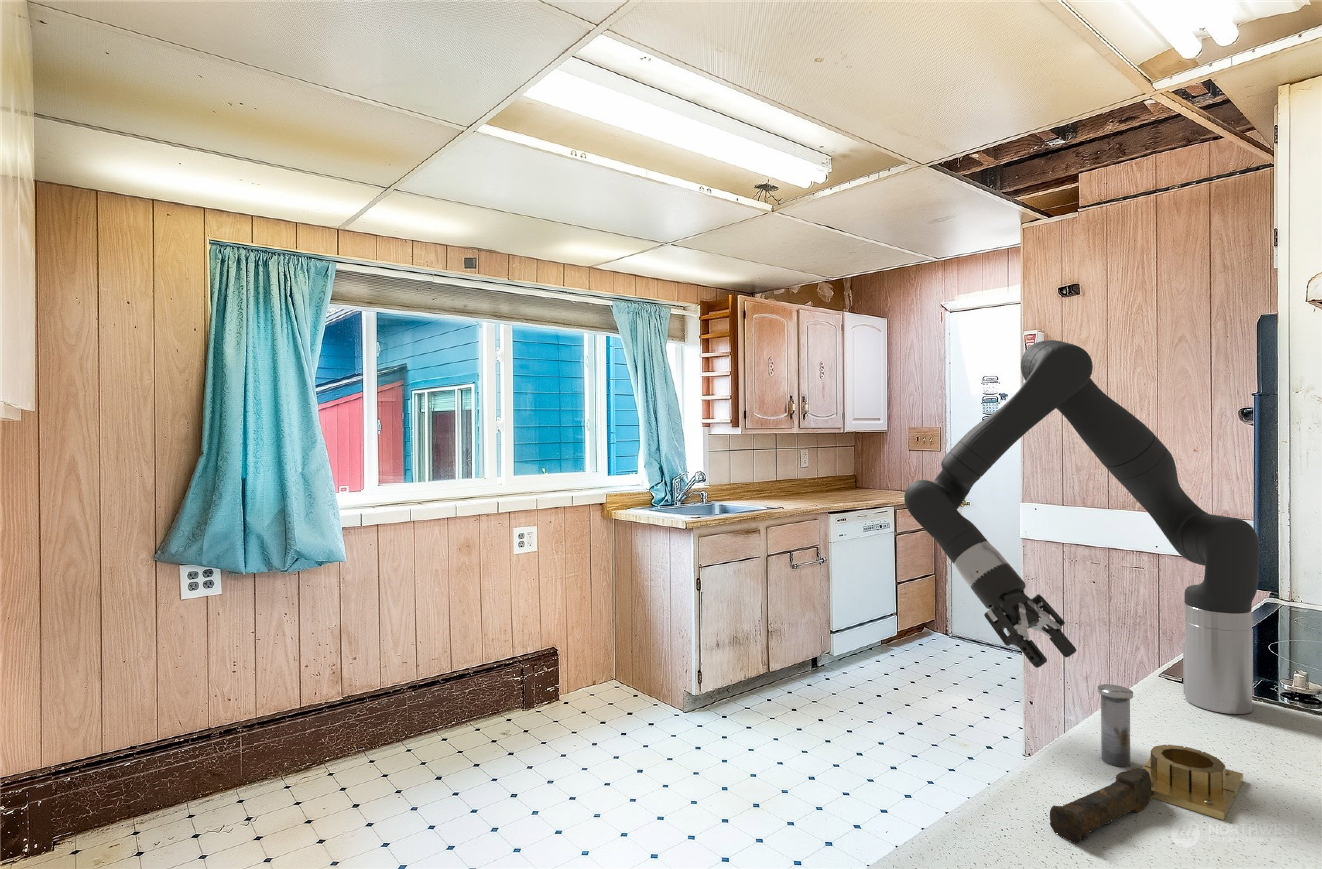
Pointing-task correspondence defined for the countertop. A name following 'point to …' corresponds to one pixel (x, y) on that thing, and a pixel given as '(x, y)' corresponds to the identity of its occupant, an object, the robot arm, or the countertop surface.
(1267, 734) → the countertop surface
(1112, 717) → the hinge pin
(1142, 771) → the hand tool
